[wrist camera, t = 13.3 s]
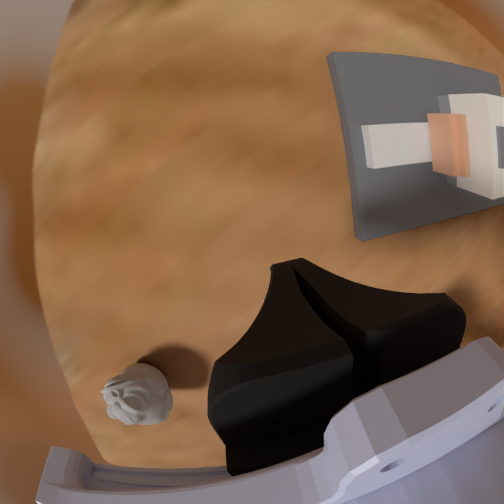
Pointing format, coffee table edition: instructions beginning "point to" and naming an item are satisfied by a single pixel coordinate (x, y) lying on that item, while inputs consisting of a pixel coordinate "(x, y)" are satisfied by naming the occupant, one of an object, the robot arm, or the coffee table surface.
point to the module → (480, 141)
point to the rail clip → (449, 144)
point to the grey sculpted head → (138, 395)
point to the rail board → (399, 138)
